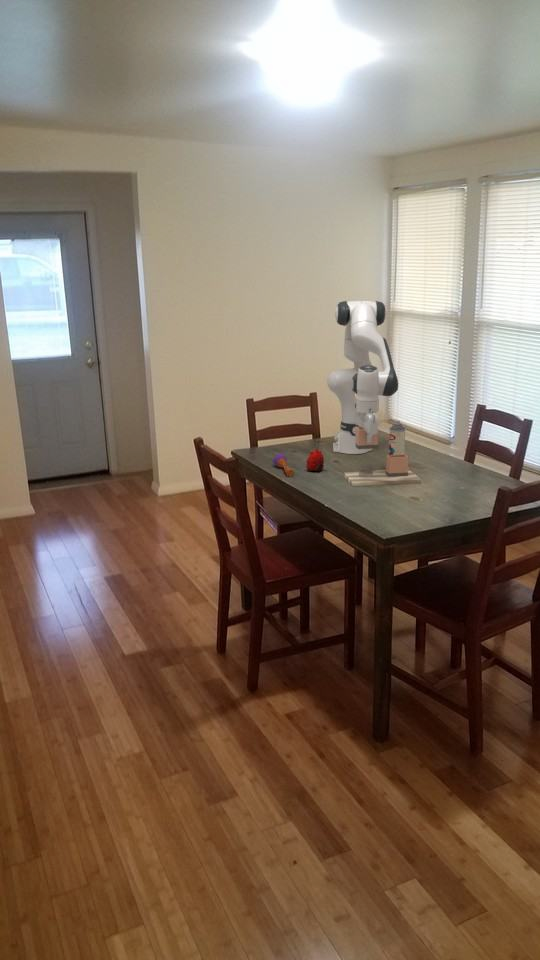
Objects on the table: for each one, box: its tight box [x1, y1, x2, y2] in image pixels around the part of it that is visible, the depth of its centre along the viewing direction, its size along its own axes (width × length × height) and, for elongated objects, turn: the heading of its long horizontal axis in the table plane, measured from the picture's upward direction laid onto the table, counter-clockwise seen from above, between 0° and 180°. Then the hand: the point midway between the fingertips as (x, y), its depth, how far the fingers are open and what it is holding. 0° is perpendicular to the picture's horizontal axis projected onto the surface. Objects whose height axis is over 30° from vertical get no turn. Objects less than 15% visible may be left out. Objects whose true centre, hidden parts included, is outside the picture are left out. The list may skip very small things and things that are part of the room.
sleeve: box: [355, 427, 379, 450], centre depth 298 cm, size 8×5×8 cm, turn 98°
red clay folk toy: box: [306, 438, 325, 473], centre depth 316 cm, size 8×7×15 cm
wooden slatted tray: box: [343, 464, 422, 487], centre depth 303 cm, size 16×28×6 cm, turn 97°
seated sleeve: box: [385, 453, 410, 477], centre depth 303 cm, size 8×5×8 cm, turn 97°
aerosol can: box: [388, 420, 406, 455], centre depth 320 cm, size 7×7×20 cm
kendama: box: [272, 453, 295, 477], centre depth 318 cm, size 6×6×20 cm
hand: (366, 441), depth 298 cm, fingers closed on sleeve, 5 cm apart
